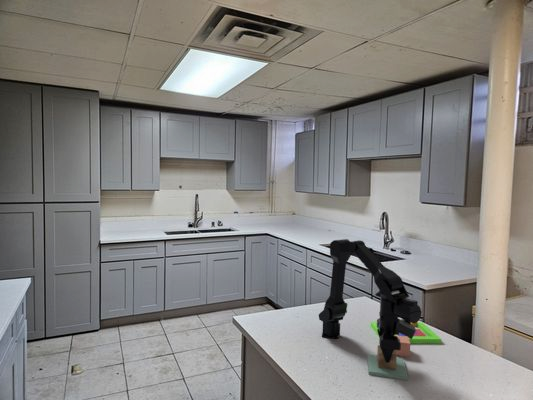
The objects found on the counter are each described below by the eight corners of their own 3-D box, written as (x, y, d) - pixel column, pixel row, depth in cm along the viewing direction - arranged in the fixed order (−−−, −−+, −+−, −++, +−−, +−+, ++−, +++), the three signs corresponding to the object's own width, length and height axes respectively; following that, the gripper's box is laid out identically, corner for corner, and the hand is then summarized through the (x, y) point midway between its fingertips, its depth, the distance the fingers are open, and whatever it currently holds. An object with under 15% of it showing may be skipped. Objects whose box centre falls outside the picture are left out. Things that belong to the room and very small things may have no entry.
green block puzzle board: (441, 344, 140) (412, 319, 165) (441, 339, 140) (413, 314, 165) (383, 344, 139) (364, 318, 164) (383, 338, 139) (364, 313, 164)
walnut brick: (378, 367, 119) (378, 352, 119) (377, 359, 124) (377, 345, 124) (396, 369, 118) (396, 354, 117) (394, 361, 123) (394, 347, 123)
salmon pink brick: (393, 354, 130) (393, 341, 130) (391, 347, 136) (392, 334, 135) (409, 357, 129) (410, 343, 129) (407, 349, 134) (408, 336, 134)
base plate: (368, 374, 117) (368, 371, 117) (367, 356, 128) (367, 353, 128) (407, 380, 114) (407, 377, 114) (402, 361, 125) (403, 358, 125)
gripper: (419, 326, 109) (416, 376, 110) (410, 305, 127) (408, 348, 128) (381, 322, 111) (378, 370, 113) (377, 302, 130) (375, 343, 131)
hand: (386, 357), depth 121 cm, fingers open, 6 cm apart
